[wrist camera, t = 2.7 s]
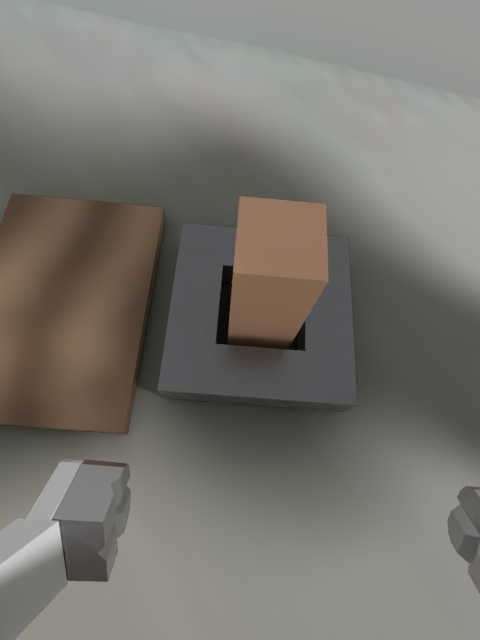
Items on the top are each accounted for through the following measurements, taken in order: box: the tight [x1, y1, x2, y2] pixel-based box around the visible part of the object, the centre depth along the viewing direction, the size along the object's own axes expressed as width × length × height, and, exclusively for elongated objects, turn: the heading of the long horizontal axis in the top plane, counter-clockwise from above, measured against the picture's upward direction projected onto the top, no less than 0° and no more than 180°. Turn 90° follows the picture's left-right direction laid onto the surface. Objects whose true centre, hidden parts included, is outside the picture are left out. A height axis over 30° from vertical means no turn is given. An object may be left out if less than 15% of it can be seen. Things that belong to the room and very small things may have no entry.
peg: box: [227, 196, 328, 350], centre depth 21 cm, size 4×4×10 cm
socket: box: [157, 223, 358, 412], centre depth 24 cm, size 11×11×2 cm
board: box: [0, 194, 165, 434], centre depth 25 cm, size 11×16×1 cm
